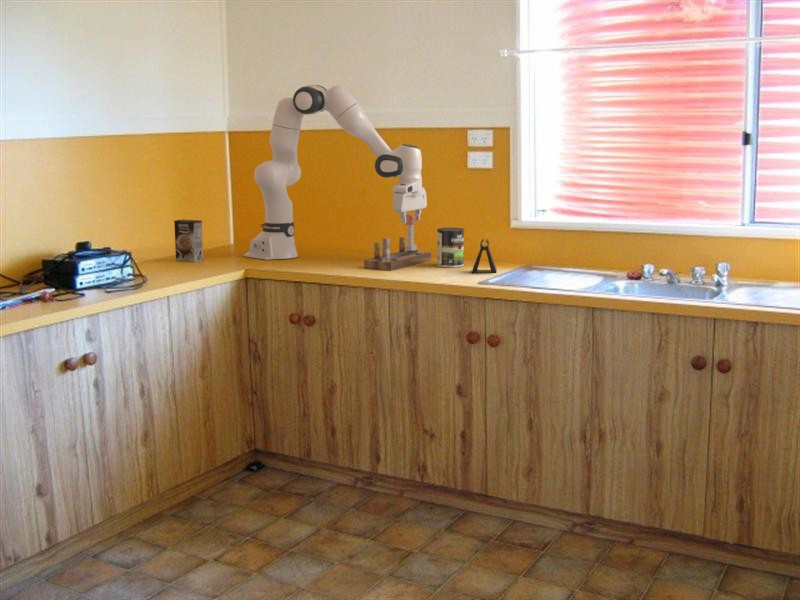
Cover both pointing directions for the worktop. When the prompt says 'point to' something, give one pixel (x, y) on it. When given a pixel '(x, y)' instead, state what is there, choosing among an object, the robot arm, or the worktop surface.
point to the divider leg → (410, 232)
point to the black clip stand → (490, 259)
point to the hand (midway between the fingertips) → (410, 221)
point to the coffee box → (188, 240)
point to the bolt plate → (395, 256)
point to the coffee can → (450, 247)
